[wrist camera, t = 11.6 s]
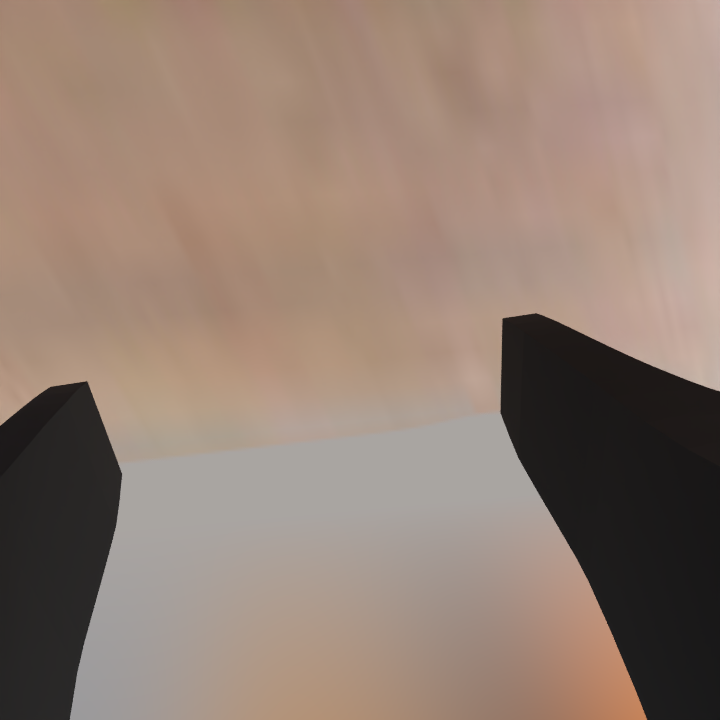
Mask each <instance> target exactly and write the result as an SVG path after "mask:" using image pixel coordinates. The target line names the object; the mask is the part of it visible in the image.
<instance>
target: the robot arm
mask: <svg viewBox="0 0 720 720" xmlns="http://www.w3.org/2000/svg"><path fill="white" fill-rule="evenodd" d="M501 415H502V418H503V421H504V423H505V426H506V428H507V431H508V434H509V436H510V439H511V441H512V443H513V446H514V448H515V451H516V453H517V455H518V458H519V460H520V461H521V463H522V465H523V467H524V469H525V470H526V472H527V474H528V476H529V477H530V479H531V481H532V482H533V484H534V486H535V488H536V489H537V491H538V493H539V495H540V496H541V498H542V500H543V502H544V503H545V505H546V507H547V508H548V510H549V512H550V514H551V515H552V517H553V518H554V520H555V522H556V524H557V526H558V527H559V529H560V531H561V532H562V534H563V535H564V537H565V539H566V541H567V543H568V544H569V546H570V548H571V549H572V551H573V553H574V554H575V556H576V558H577V560H578V562H579V564H580V566H581V568H582V569H583V571H584V573H585V575H586V577H587V579H588V581H589V583H590V586H591V588H592V590H593V592H594V595H595V597H596V599H597V601H598V603H599V606H600V608H601V610H602V612H603V614H604V617H605V619H606V621H607V624H608V626H609V628H610V630H611V632H612V635H613V637H614V640H615V642H616V644H617V647H618V649H619V652H620V654H621V656H622V659H623V661H624V663H625V666H626V668H627V671H628V673H629V675H630V678H631V680H632V682H633V685H634V687H635V690H636V692H637V695H638V697H639V699H640V702H641V705H642V707H643V710H644V713H645V715H646V718H647V720H720V392H719V391H716V390H713V389H710V388H707V387H704V386H702V385H699V384H696V383H693V382H691V381H688V380H685V379H683V378H680V377H678V376H675V375H673V374H670V373H668V372H666V371H663V370H661V369H658V368H656V367H653V366H651V365H649V364H646V363H644V362H642V361H639V360H637V359H635V358H633V357H630V356H628V355H626V354H624V353H622V352H619V351H617V350H615V349H613V348H611V347H609V346H607V345H605V344H603V343H600V342H598V341H596V340H594V339H592V338H590V337H588V336H586V335H584V334H582V333H580V332H578V331H576V330H574V329H571V328H569V327H567V326H565V325H563V324H561V323H559V322H557V321H554V320H552V319H550V318H547V317H545V316H542V315H540V314H537V313H535V314H529V315H522V316H516V317H509V318H503V323H502V370H501ZM121 480H122V473H121V470H120V467H119V465H118V462H117V459H116V457H115V454H114V451H113V449H112V446H111V443H110V441H109V438H108V435H107V433H106V430H105V427H104V425H103V422H102V419H101V417H100V414H99V411H98V409H97V406H96V403H95V401H94V398H93V395H92V393H91V390H90V387H89V385H88V382H87V381H86V382H80V383H73V384H67V385H60V386H53V387H50V388H48V389H47V390H45V391H44V392H42V393H41V394H39V395H38V396H37V397H35V398H34V399H33V400H31V401H30V402H29V403H28V404H26V405H25V406H24V407H23V408H21V409H20V410H19V411H18V412H17V413H15V414H14V415H13V416H12V417H10V418H9V419H8V420H7V421H6V422H4V423H3V424H2V425H1V426H0V720H70V713H71V708H72V702H73V695H74V689H75V683H76V676H77V671H78V666H79V663H80V658H81V654H82V650H83V645H84V641H85V638H86V634H87V631H88V626H89V623H90V620H91V616H92V612H93V609H94V605H95V602H96V598H97V595H98V591H99V587H100V584H101V580H102V576H103V573H104V569H105V566H106V562H107V558H108V555H109V551H110V547H111V543H112V540H113V536H114V531H115V528H116V522H117V515H118V507H119V500H120V489H121Z"/></svg>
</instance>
